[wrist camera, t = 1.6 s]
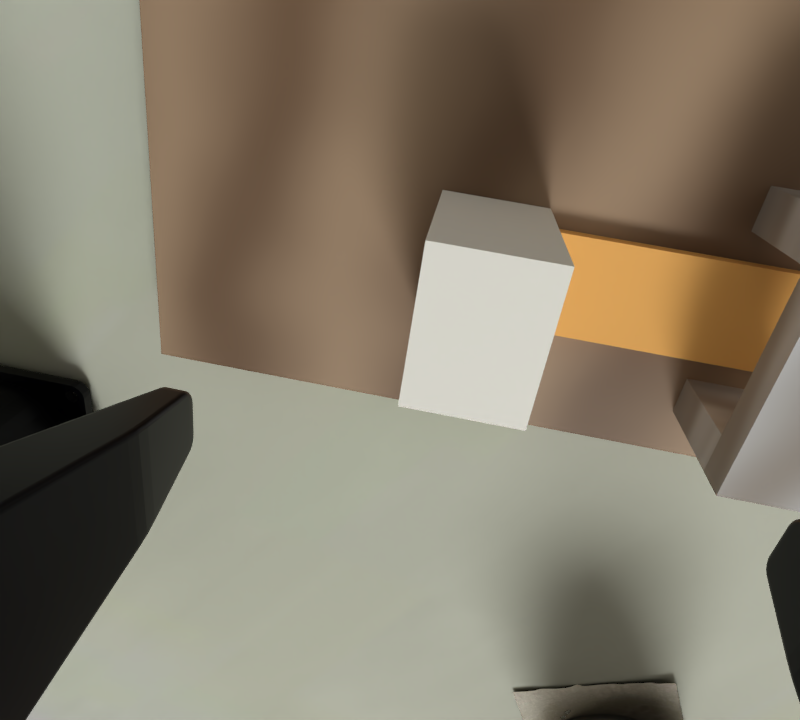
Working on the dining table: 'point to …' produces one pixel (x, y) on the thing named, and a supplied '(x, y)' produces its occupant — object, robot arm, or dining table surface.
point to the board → (477, 188)
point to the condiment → (602, 702)
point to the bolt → (565, 306)
